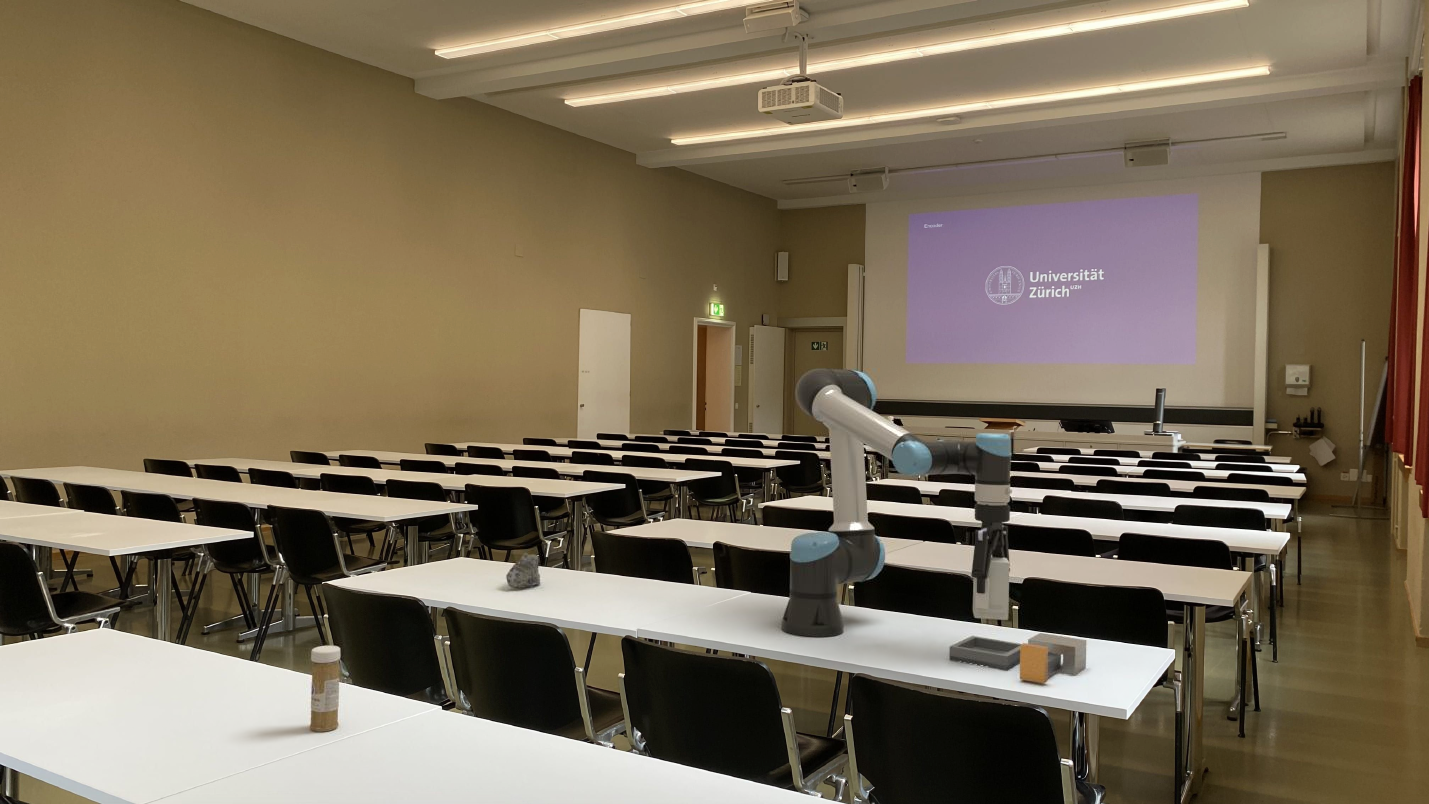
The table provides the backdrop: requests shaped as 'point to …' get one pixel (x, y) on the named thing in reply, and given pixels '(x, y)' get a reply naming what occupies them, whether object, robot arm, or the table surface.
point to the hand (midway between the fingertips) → (990, 604)
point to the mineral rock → (524, 572)
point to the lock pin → (1037, 663)
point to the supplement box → (995, 591)
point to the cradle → (986, 652)
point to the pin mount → (1064, 650)
